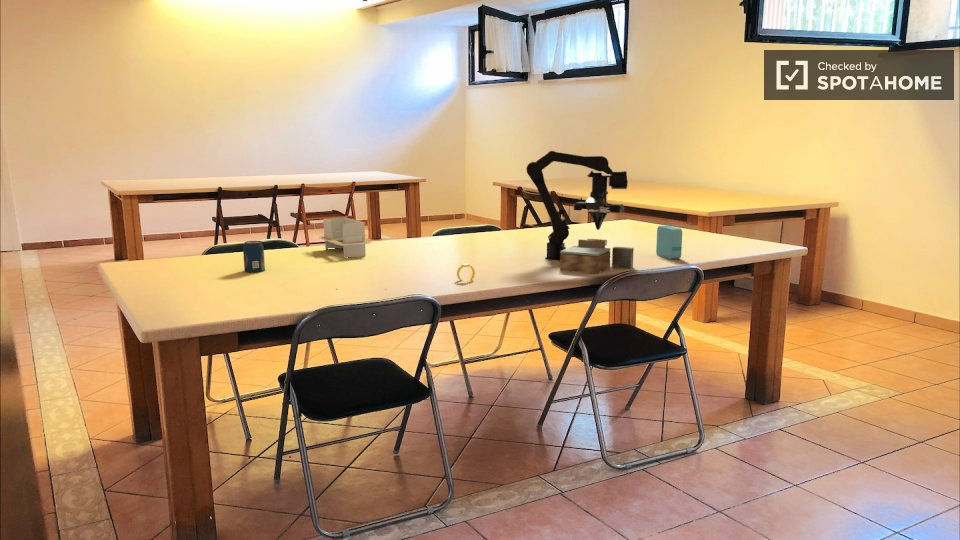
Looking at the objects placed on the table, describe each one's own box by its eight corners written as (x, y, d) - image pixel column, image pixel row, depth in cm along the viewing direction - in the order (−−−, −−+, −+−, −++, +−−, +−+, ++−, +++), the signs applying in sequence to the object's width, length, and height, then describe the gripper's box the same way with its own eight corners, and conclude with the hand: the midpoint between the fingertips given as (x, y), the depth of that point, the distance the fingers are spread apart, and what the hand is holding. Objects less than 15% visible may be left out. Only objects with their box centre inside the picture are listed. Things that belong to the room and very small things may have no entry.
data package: (681, 259, 283) (682, 228, 281) (670, 259, 282) (672, 229, 280) (665, 254, 295) (667, 225, 292) (655, 254, 294) (657, 225, 291)
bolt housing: (612, 266, 268) (612, 247, 267) (614, 265, 271) (615, 246, 269) (630, 268, 265) (631, 249, 263) (632, 267, 267) (633, 247, 266)
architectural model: (319, 254, 303) (317, 218, 300) (348, 251, 309) (347, 216, 307) (340, 263, 281) (339, 225, 278) (371, 260, 288) (370, 223, 285)
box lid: (560, 253, 261) (560, 244, 260) (574, 247, 273) (574, 239, 272) (597, 256, 254) (597, 246, 253) (610, 250, 266) (610, 241, 266)
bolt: (587, 244, 272) (587, 239, 271) (589, 243, 273) (589, 238, 273) (605, 245, 268) (605, 240, 268) (606, 245, 270) (607, 239, 270)
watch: (472, 279, 246) (472, 262, 245) (475, 281, 244) (475, 264, 243) (456, 281, 244) (455, 264, 243) (459, 283, 241) (458, 265, 240)
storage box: (560, 270, 262) (560, 254, 261) (574, 264, 274) (574, 248, 273) (597, 273, 255) (597, 257, 254) (609, 267, 267) (610, 251, 266)
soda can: (243, 274, 258) (241, 241, 256) (264, 272, 261) (261, 239, 259) (246, 277, 252) (243, 243, 250) (266, 276, 255) (264, 242, 253)
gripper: (568, 189, 276) (567, 230, 279) (615, 191, 266) (613, 233, 269) (579, 187, 285) (578, 227, 288) (625, 189, 276) (624, 230, 279)
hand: (598, 229), depth 281 cm, fingers closed
